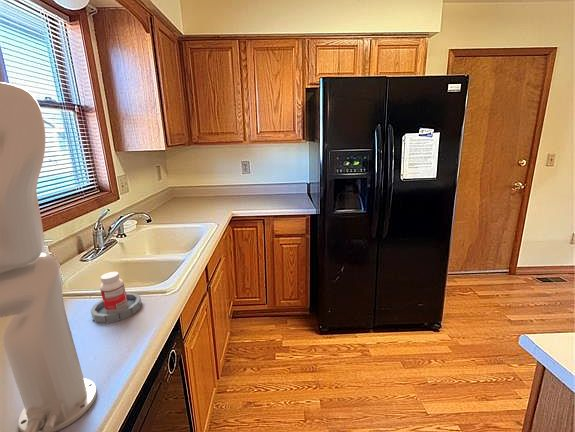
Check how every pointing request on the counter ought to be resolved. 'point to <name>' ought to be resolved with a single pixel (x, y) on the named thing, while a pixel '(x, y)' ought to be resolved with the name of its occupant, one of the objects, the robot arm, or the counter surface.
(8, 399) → the counter surface
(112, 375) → the counter surface
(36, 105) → the robot arm
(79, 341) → the counter surface
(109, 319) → the round grey tray
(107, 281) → the pill bottle
